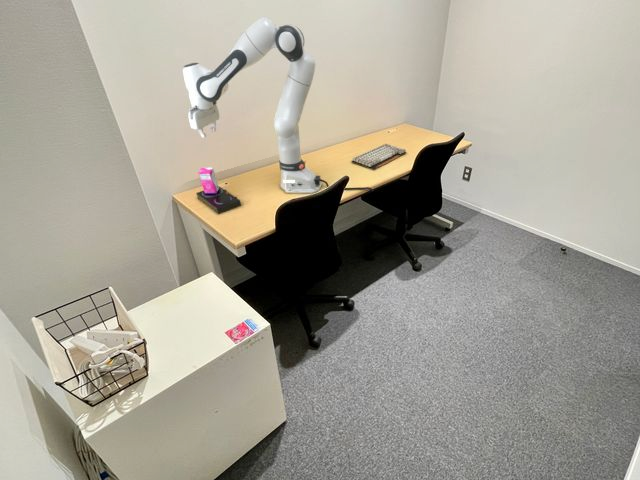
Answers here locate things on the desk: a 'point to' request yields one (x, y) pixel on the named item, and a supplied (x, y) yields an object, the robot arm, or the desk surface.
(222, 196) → the hot plate
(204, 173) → the supplement box
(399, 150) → the mechanical keyboard
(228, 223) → the desk surface
